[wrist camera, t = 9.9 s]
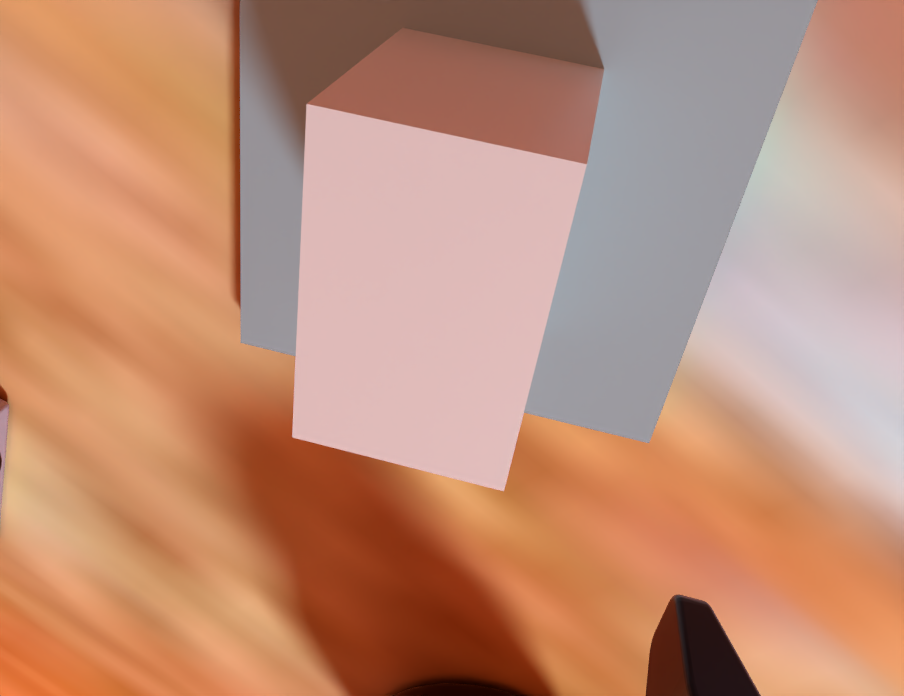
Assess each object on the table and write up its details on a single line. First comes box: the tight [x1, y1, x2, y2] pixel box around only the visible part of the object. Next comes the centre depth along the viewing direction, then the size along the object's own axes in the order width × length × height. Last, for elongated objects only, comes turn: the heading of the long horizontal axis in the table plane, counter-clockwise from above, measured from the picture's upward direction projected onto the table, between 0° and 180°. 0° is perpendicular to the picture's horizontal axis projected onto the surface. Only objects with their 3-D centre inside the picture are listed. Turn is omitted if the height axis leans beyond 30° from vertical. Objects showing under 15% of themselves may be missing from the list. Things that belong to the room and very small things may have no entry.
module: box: [292, 28, 604, 491], centre depth 17 cm, size 4×7×6 cm, turn 173°
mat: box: [240, 0, 818, 443], centre depth 20 cm, size 12×12×1 cm
